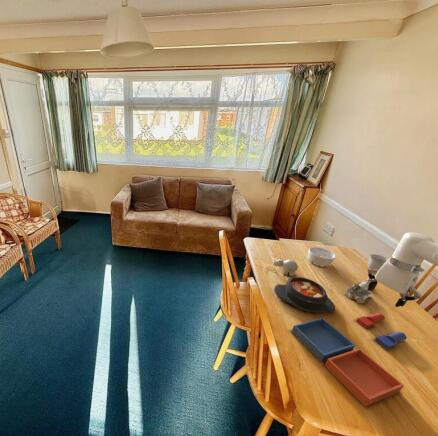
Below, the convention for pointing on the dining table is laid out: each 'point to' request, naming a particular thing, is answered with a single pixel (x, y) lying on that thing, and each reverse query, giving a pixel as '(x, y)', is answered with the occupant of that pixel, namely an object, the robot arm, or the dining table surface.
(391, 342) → the blue spoon
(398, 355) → the dining table surface
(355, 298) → the grey rock
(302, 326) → the blue bin
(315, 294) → the casserole
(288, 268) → the chubby cartoon animal
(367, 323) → the red spoon
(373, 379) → the red bin
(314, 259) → the ramekin
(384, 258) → the chalice
